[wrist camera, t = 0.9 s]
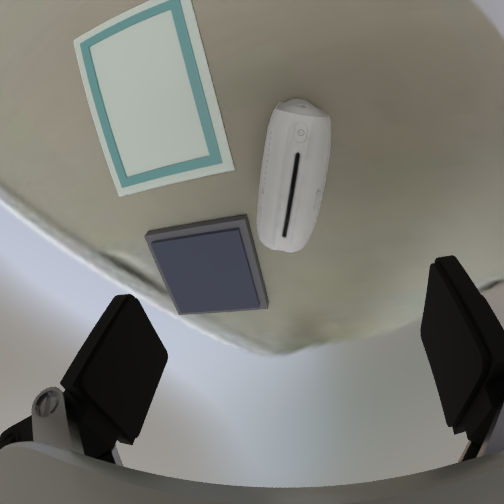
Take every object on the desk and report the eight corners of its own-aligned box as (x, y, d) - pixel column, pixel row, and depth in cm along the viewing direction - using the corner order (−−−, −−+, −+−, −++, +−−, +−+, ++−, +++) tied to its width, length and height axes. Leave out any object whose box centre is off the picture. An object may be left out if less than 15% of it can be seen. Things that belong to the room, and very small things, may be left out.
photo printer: (277, 94, 26) (265, 102, 15) (323, 101, 25) (344, 115, 15) (264, 194, 31) (246, 261, 21) (306, 201, 31) (310, 271, 20)
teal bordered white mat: (187, -14, 20) (185, -15, 20) (235, 169, 30) (234, 170, 30) (74, 40, 24) (71, 40, 23) (120, 196, 33) (118, 197, 33)
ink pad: (246, 214, 33) (243, 221, 31) (268, 302, 38) (267, 311, 37) (148, 231, 35) (142, 238, 34) (181, 308, 41) (177, 317, 40)
